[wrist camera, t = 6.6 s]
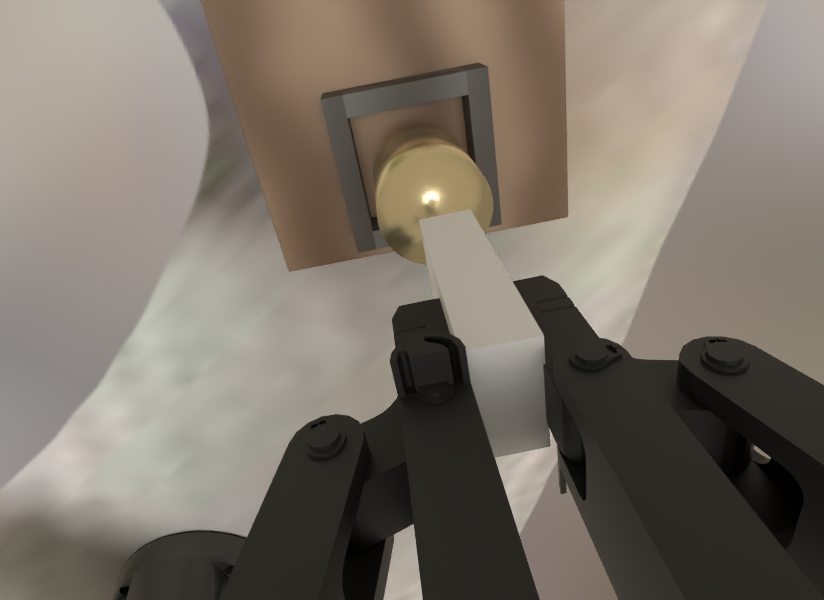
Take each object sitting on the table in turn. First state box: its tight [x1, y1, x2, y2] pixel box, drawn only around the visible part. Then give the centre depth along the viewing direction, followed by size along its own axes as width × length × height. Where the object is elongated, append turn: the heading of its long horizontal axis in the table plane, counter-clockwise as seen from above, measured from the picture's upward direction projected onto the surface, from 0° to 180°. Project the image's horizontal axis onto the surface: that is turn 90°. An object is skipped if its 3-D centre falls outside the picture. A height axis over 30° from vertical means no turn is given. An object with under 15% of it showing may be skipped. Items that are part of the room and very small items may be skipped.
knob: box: [373, 125, 493, 264], centre depth 22 cm, size 4×4×5 cm
